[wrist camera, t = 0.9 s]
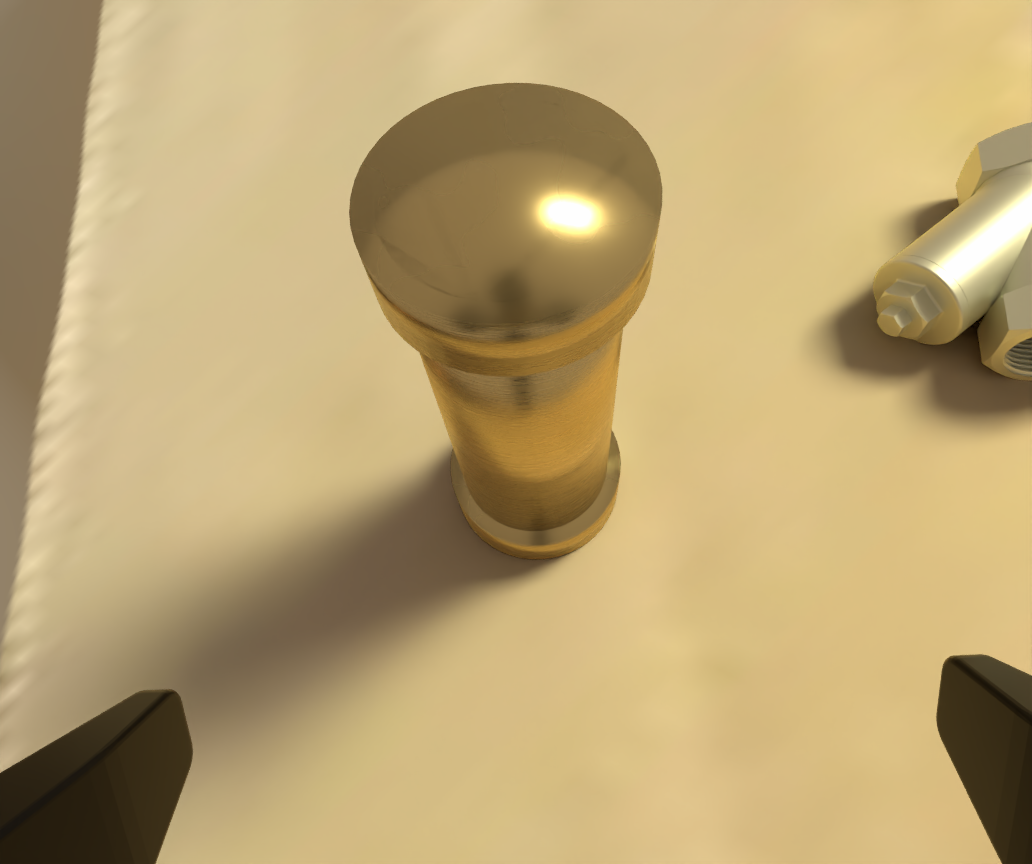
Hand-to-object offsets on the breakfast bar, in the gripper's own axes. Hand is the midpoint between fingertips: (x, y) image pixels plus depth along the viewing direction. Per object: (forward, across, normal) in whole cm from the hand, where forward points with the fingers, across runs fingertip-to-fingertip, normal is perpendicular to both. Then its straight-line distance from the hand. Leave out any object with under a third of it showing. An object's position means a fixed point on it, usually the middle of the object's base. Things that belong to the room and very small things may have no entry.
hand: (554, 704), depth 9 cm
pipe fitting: (+20, -15, -2) cm, 25 cm away
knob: (+15, 0, +3) cm, 15 cm away
